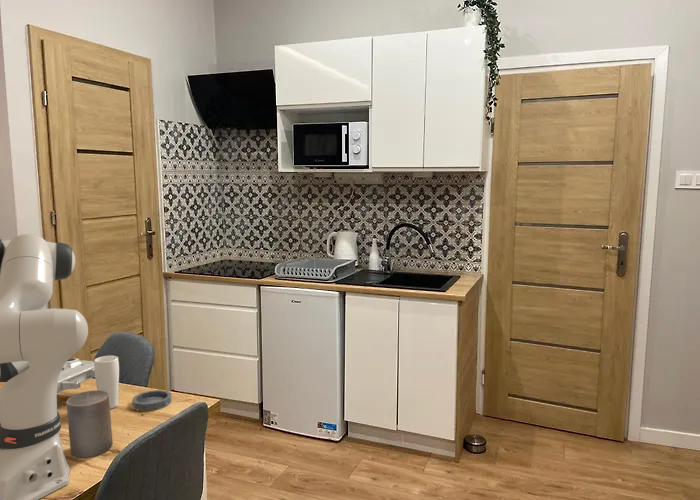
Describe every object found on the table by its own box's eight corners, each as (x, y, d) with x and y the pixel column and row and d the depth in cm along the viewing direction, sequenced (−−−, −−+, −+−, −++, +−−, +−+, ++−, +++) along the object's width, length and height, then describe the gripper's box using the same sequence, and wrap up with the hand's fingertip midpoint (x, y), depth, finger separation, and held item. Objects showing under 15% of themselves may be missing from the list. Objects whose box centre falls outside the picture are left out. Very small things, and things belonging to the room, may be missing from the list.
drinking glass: (91, 408, 160) (88, 360, 159) (111, 400, 166) (108, 354, 164) (106, 412, 157) (103, 363, 155) (126, 404, 163) (123, 357, 161)
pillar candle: (101, 436, 142) (97, 382, 140) (119, 447, 136) (115, 391, 134) (63, 450, 135) (58, 394, 133) (81, 463, 129) (75, 403, 127)
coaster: (156, 412, 157) (155, 406, 157) (125, 408, 160) (124, 401, 160) (178, 398, 168) (178, 392, 167) (149, 394, 171) (148, 388, 171)
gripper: (25, 377, 156) (62, 381, 152) (79, 356, 176) (113, 360, 172) (26, 397, 157) (63, 403, 153) (80, 374, 176) (114, 378, 172)
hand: (90, 380), depth 162 cm, fingers open, 8 cm apart
